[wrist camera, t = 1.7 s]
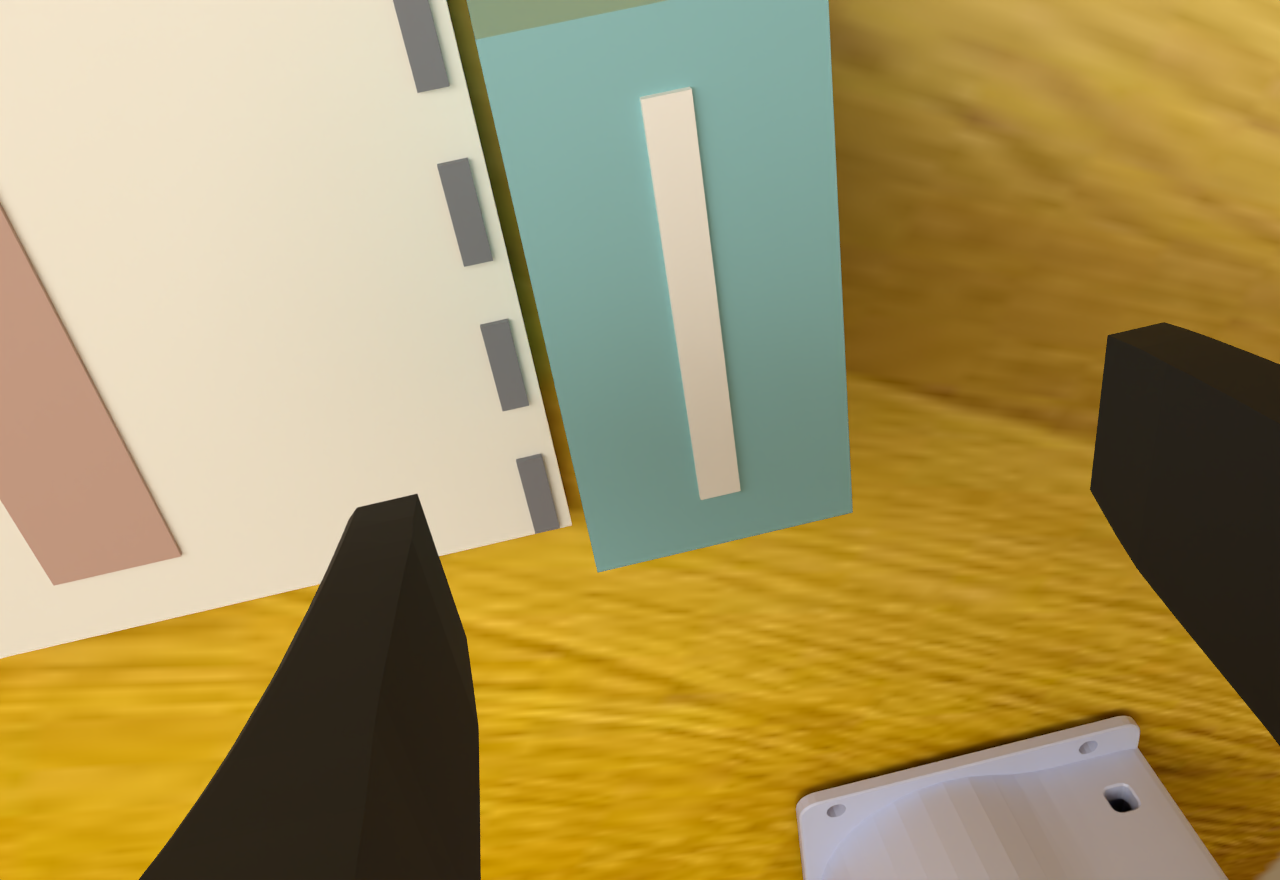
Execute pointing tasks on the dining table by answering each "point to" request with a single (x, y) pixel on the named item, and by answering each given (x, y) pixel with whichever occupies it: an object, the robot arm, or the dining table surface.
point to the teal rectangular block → (680, 257)
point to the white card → (245, 305)
